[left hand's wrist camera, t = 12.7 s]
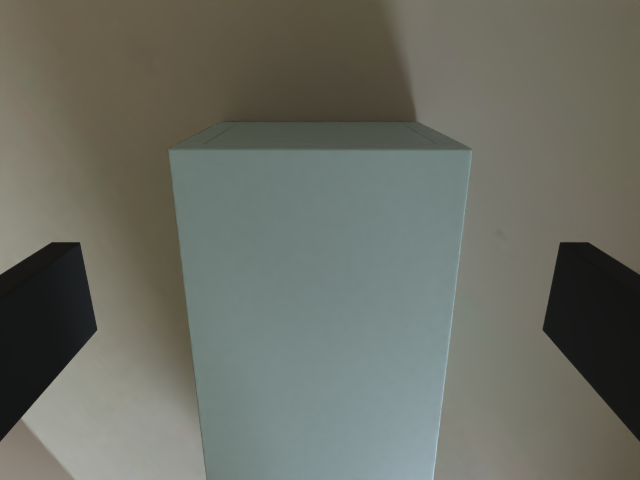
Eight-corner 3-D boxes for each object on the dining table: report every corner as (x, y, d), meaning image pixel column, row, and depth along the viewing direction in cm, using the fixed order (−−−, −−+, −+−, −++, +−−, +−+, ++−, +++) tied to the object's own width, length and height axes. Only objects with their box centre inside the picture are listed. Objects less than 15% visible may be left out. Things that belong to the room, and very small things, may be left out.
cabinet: (397, 404, 32) (427, 531, 23) (241, 404, 32) (212, 531, 23) (419, 122, 25) (473, 148, 16) (220, 121, 25) (166, 148, 16)
